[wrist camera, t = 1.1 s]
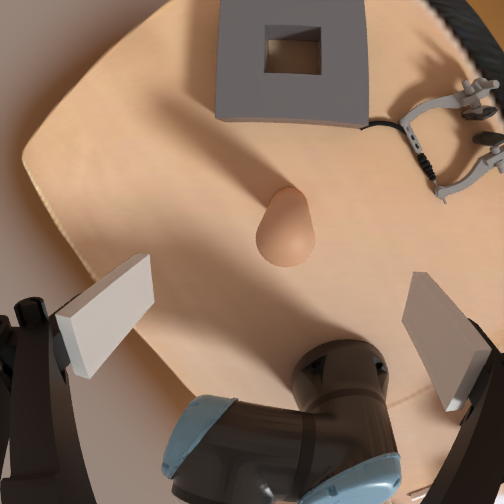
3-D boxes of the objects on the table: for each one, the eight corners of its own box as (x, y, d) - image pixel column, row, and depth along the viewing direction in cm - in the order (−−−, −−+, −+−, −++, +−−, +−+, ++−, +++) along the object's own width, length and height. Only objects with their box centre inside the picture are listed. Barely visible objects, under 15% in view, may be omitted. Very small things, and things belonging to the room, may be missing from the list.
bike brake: (474, 69, 26) (357, 126, 35) (496, 63, 20) (362, 126, 29) (512, 159, 29) (404, 217, 38) (537, 168, 23) (415, 235, 32)
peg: (306, 224, 37) (312, 268, 23) (270, 221, 38) (255, 265, 24) (308, 188, 36) (317, 212, 22) (271, 186, 37) (256, 208, 22)
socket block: (358, 128, 33) (368, 125, 28) (225, 122, 35) (215, 117, 30) (356, 13, 28) (363, -3, 23) (229, 9, 30) (221, -8, 25)
